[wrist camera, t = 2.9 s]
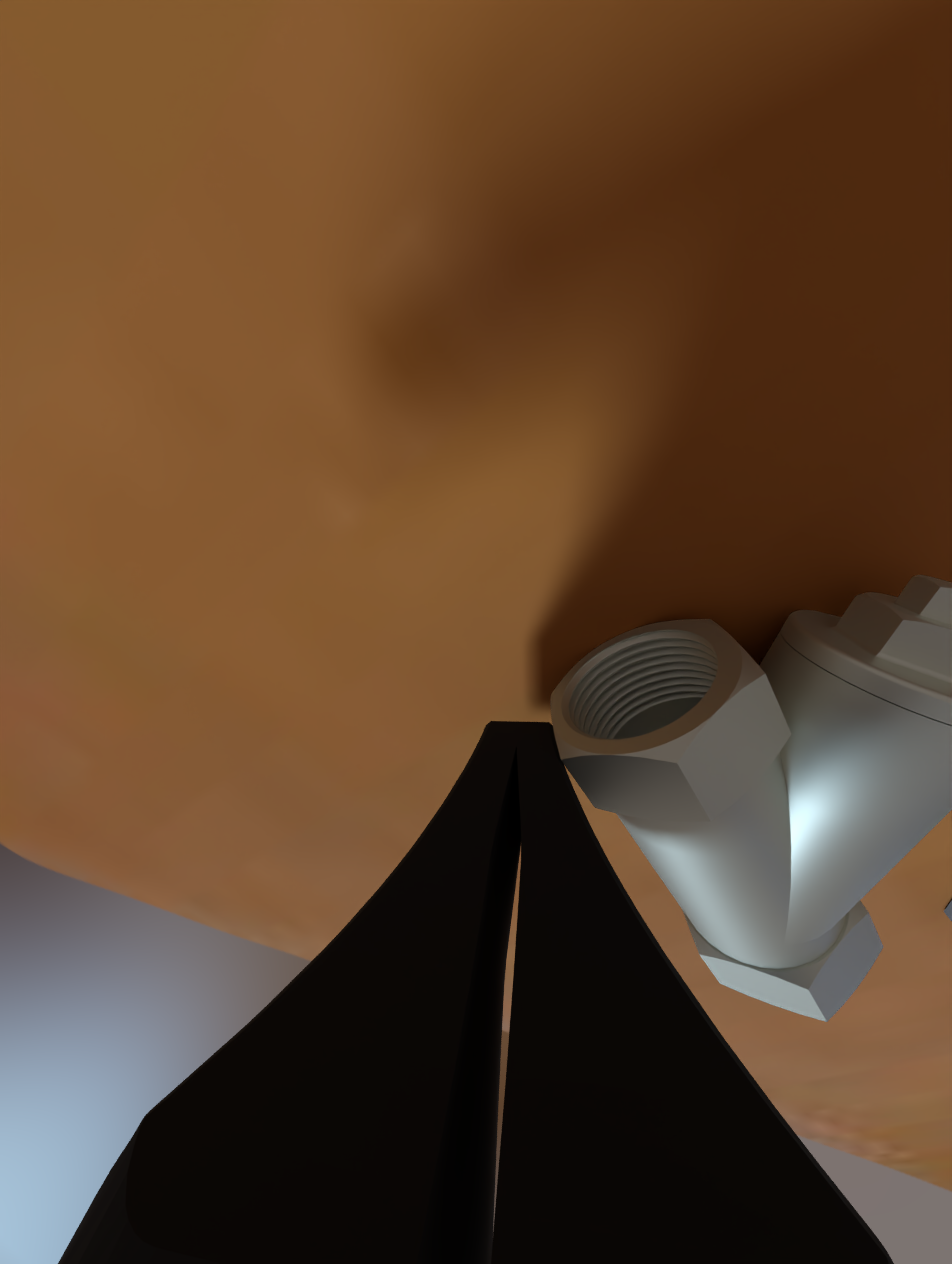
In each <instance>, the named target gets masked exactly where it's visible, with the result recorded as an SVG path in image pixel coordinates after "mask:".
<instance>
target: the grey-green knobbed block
mask: <svg viewBox="0 0 952 1264" xmlns="http://www.w3.org/2000/svg"><path fill="white" fill-rule="evenodd" d="M944 912H945V914H946V915H947V916H948V917H949V919H950V920H951V921H952V901H951V902H950V903H949V905H948V906H947V908H946V909H945V910H944Z"/></svg>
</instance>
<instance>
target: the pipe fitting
mask: <svg viewBox="0 0 952 1264" xmlns="http://www.w3.org/2000/svg"><path fill="white" fill-rule="evenodd" d="M550 707H551V718H552V724H553V729H554V734H555V739H556V743H557V747H558V751H559V755H560V759H561V761H562V762H563V763H564V765H565V766H566V768H567V769H568V771H569V772H570V773H571V775H572V776H573V778H574V779H575V780H576V782H577V783H578V785H579V786H580V787H581V789H582V790H583V792H584V793H585V794H586V796H587V797H588V799H589V800H590V801H591V803H592V804H593V806H594V807H595V808H598V809H602V810H606V811H610V812H614V813H616V814H617V815H618V817H619V818H620V820H621V821H622V823H623V824H624V826H625V827H626V828H627V830H628V831H629V833H630V834H631V836H632V837H633V839H634V840H635V842H636V843H637V845H638V846H639V847H640V849H641V850H642V852H643V853H644V855H645V856H646V858H647V859H648V861H649V862H650V863H651V865H652V866H653V868H654V869H655V871H656V872H657V874H658V875H659V876H660V878H661V879H662V881H663V882H664V884H665V885H666V886H667V888H668V889H669V891H670V892H671V894H672V895H673V897H674V898H675V899H676V901H677V902H678V904H679V905H680V907H681V908H682V910H683V913H684V916H685V918H686V921H687V924H688V926H689V929H690V932H691V934H692V937H693V939H694V942H695V944H696V947H697V949H698V952H699V954H700V956H701V957H702V959H703V960H704V962H705V963H706V964H707V966H708V967H709V969H710V970H711V971H712V973H713V974H714V976H715V977H716V978H717V980H718V981H719V983H720V984H722V985H725V986H727V987H729V988H732V989H734V990H736V991H739V992H741V993H743V994H746V995H748V996H751V997H753V998H756V999H758V1000H761V1001H764V1002H766V1003H769V1004H771V1005H774V1006H777V1007H780V1008H783V1009H786V1010H789V1011H792V1012H795V1013H798V1014H801V1015H805V1016H808V1017H812V1018H815V1019H819V1020H822V1021H826V1022H827V1021H828V1020H829V1019H830V1018H831V1017H832V1016H833V1015H834V1014H835V1013H836V1012H837V1011H838V1010H839V1009H840V1008H841V1007H842V1006H843V1005H844V1003H845V1002H846V1001H847V1000H848V998H849V997H850V996H851V995H852V993H853V992H854V991H855V990H856V989H857V987H858V986H859V984H860V983H861V982H862V980H863V979H864V977H865V976H866V974H867V973H868V971H869V970H870V969H871V967H872V965H873V964H874V962H875V960H876V958H877V957H878V955H879V953H880V952H881V950H882V948H883V945H882V943H881V940H880V938H879V936H878V933H877V931H876V929H875V926H874V924H873V922H872V919H871V917H870V915H869V912H868V911H867V910H866V908H865V907H864V905H863V904H862V902H861V901H860V900H861V899H862V898H863V897H864V896H865V895H866V894H867V893H868V892H869V891H870V890H871V889H872V888H873V887H874V886H875V885H876V884H877V883H878V882H879V881H880V880H881V879H882V878H883V877H884V876H885V875H886V874H887V873H888V872H889V871H890V870H891V869H892V868H893V867H894V866H895V865H896V864H897V863H898V862H899V861H900V860H901V859H902V858H903V857H904V856H905V855H906V854H907V853H908V852H909V851H910V850H911V849H912V848H913V847H914V846H915V845H916V844H917V843H918V842H919V841H920V840H921V839H922V838H923V837H924V836H925V835H926V834H927V833H928V832H929V831H930V830H932V829H933V828H934V827H935V826H936V825H937V824H938V823H939V822H940V821H941V820H942V819H943V818H944V817H945V816H946V815H947V814H948V813H949V812H950V811H951V810H952V582H948V581H945V580H941V579H938V578H934V577H930V576H925V575H915V576H913V577H912V578H911V579H910V581H909V582H908V584H907V585H906V586H905V588H904V589H903V591H902V592H901V593H900V595H899V596H898V597H895V596H891V595H886V594H882V593H875V592H867V593H863V594H859V595H857V596H855V598H854V599H853V601H852V602H851V604H850V605H849V607H848V608H847V610H846V611H845V613H844V614H843V616H842V617H839V616H834V615H830V614H826V613H822V612H818V611H814V610H798V611H795V612H792V613H791V614H790V615H789V616H788V618H787V620H786V621H785V623H784V625H783V627H782V628H781V630H780V632H779V634H778V635H777V637H776V639H775V640H774V642H773V644H772V645H771V647H770V649H769V650H768V652H767V654H766V655H765V657H764V659H763V660H762V662H761V664H760V665H758V664H757V663H756V662H755V661H754V660H753V659H752V657H751V656H750V655H749V654H748V653H747V652H746V651H745V650H744V649H743V648H742V646H741V645H740V644H739V643H738V642H737V641H736V640H735V639H734V638H733V637H732V636H731V635H730V634H729V633H727V632H726V631H725V630H724V629H723V628H722V627H721V626H720V625H718V624H717V623H715V622H714V621H712V620H711V619H683V620H673V621H664V622H658V623H653V624H649V625H645V626H642V627H639V628H635V629H632V630H630V631H627V632H625V633H623V634H620V635H618V636H616V637H614V638H612V639H610V640H608V641H606V642H605V643H603V644H601V645H600V646H598V647H597V648H595V649H594V650H592V651H591V652H590V653H588V654H587V655H586V656H585V657H583V658H582V659H581V660H580V661H579V662H578V663H577V664H576V665H575V666H574V667H573V668H572V669H571V670H570V671H569V672H568V673H567V674H566V675H565V676H564V678H563V679H562V680H561V681H560V683H559V684H558V685H557V687H556V688H555V689H554V691H553V692H552V694H551V700H550Z"/></svg>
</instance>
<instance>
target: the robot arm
mask: <svg viewBox="0 0 952 1264" xmlns="http://www.w3.org/2000/svg"><path fill="white" fill-rule="evenodd" d="M520 846H521V870H520V886H519V903H518V918H517V933H516V948H515V963H514V978H513V991H512V1005H511V1018H510V1032H509V1045H508V1060H507V1072H506V1085H505V1097H504V1109H503V1122H502V1123H503V1124H502V1134H501V1146H500V1159H499V1172H498V1184H497V1197H496V1208H495V1220H494V1232H493V1217H494V1193H495V1169H496V1145H497V1122H498V1101H499V1079H500V1078H499V1077H500V1056H501V1035H502V1016H503V996H504V980H505V969H506V958H507V949H508V941H509V933H510V926H511V918H512V910H513V902H514V894H515V886H516V878H517V870H518V863H519V855H520ZM58 1264H894V1263H893V1261H892V1259H891V1258H890V1256H889V1254H888V1252H887V1251H886V1249H885V1248H884V1246H883V1245H882V1244H881V1242H880V1241H879V1239H878V1238H877V1237H876V1235H875V1234H874V1233H873V1232H872V1230H871V1229H870V1228H869V1226H868V1225H867V1224H866V1223H865V1221H864V1220H863V1219H862V1218H861V1216H860V1215H859V1214H858V1213H857V1211H856V1210H855V1209H854V1207H853V1206H852V1205H851V1204H850V1202H849V1201H848V1200H847V1199H846V1197H845V1196H844V1195H843V1194H842V1192H841V1191H840V1190H839V1189H838V1187H837V1186H836V1185H835V1184H834V1182H833V1181H832V1180H831V1179H830V1177H829V1176H828V1175H827V1173H826V1172H825V1171H824V1170H823V1169H822V1167H821V1166H820V1165H819V1163H818V1162H817V1161H816V1160H815V1158H814V1157H813V1156H812V1154H811V1153H810V1152H809V1151H808V1149H807V1148H806V1147H805V1145H804V1144H803V1143H802V1142H801V1140H800V1139H799V1138H798V1136H797V1135H796V1134H795V1132H794V1131H793V1130H792V1128H791V1127H790V1126H789V1125H788V1123H787V1122H786V1121H785V1119H784V1118H783V1117H782V1116H781V1114H780V1113H779V1112H778V1110H777V1109H776V1108H775V1106H774V1105H773V1104H772V1103H771V1101H770V1100H769V1099H768V1097H767V1096H766V1094H765V1093H764V1092H763V1090H762V1089H761V1088H760V1086H759V1085H758V1084H757V1082H756V1081H755V1080H754V1078H753V1077H752V1076H751V1074H750V1073H749V1072H748V1070H747V1069H746V1068H745V1066H744V1065H743V1063H742V1062H741V1061H740V1059H739V1058H738V1057H737V1055H736V1054H735V1053H734V1051H733V1050H732V1049H731V1047H730V1046H729V1045H728V1043H727V1042H726V1041H725V1039H724V1038H723V1037H722V1035H721V1034H720V1032H719V1031H718V1029H717V1028H716V1026H715V1025H714V1024H713V1022H712V1021H711V1019H710V1018H709V1016H708V1015H707V1014H706V1012H705V1011H704V1009H703V1008H702V1006H701V1005H700V1003H699V1002H698V1001H697V999H696V998H695V996H694V995H693V993H692V992H691V990H690V989H689V988H688V986H687V985H686V983H685V982H684V980H683V979H682V977H681V976H680V975H679V973H678V972H677V970H676V969H675V967H674V966H673V965H672V963H671V962H670V960H669V959H668V957H667V956H666V954H665V953H664V951H663V950H662V948H661V947H660V945H659V943H658V942H657V940H656V939H655V937H654V936H653V934H652V932H651V931H650V929H649V928H648V926H647V925H646V923H645V921H644V920H643V918H642V917H641V915H640V914H639V912H638V910H637V909H636V907H635V905H634V904H633V902H632V900H631V899H630V897H629V895H628V894H627V892H626V890H625V889H624V887H623V885H622V883H621V882H620V880H619V878H618V876H617V875H616V873H615V871H614V869H613V868H612V866H611V864H610V862H609V860H608V859H607V857H606V855H605V853H604V851H603V849H602V847H601V845H600V843H599V841H598V839H597V838H596V836H595V834H594V832H593V830H592V828H591V826H590V824H589V822H588V820H587V817H586V815H585V813H584V811H583V809H582V807H581V804H580V802H579V800H578V798H577V795H576V793H575V791H574V789H573V786H572V784H571V781H570V779H569V777H568V774H567V771H566V769H565V766H564V763H563V762H562V761H561V759H560V755H559V751H558V747H557V743H556V739H555V734H554V729H553V726H552V725H551V724H550V723H549V722H507V721H491V722H489V723H488V724H487V725H486V727H485V729H484V731H483V734H482V736H481V738H480V740H479V742H478V744H477V746H476V748H475V750H474V752H473V754H472V756H471V757H470V759H469V761H468V763H467V765H466V766H465V768H464V770H463V772H462V773H461V775H460V777H459V778H458V780H457V781H456V783H455V785H454V786H453V788H452V790H451V791H450V793H449V794H448V796H447V798H446V799H445V801H444V802H443V804H442V805H441V807H440V808H439V810H438V811H437V813H436V814H435V815H434V817H433V818H432V820H431V821H430V823H429V824H428V825H427V827H426V828H425V830H424V831H423V833H422V834H421V836H420V837H419V838H418V840H417V841H416V842H415V844H414V845H413V846H412V848H411V849H410V850H409V852H408V853H407V854H406V856H405V857H404V858H403V859H402V861H401V862H400V863H399V864H398V866H397V867H396V868H395V869H394V871H393V872H392V873H391V874H390V876H389V877H388V878H387V879H386V880H385V882H384V883H383V884H382V885H381V886H380V888H379V889H378V890H377V891H376V892H375V893H374V895H373V896H372V897H371V898H370V899H369V900H368V901H367V903H366V904H365V905H364V906H363V907H362V908H361V909H360V910H359V912H358V913H357V914H356V915H355V916H354V917H353V918H352V919H351V921H350V922H349V923H348V924H347V925H346V926H345V927H344V928H343V929H342V930H341V932H340V933H339V934H338V935H337V936H336V937H335V938H334V939H333V940H332V941H331V942H330V943H329V944H328V945H327V946H326V947H325V948H324V950H323V951H322V952H321V953H320V954H319V955H318V956H316V957H315V958H314V959H313V960H312V961H311V962H310V964H308V965H307V966H306V967H305V968H304V969H303V971H301V972H300V973H299V974H298V975H297V976H296V977H295V978H294V979H293V980H292V982H290V983H289V984H288V985H287V986H286V987H285V988H284V989H283V990H282V991H281V992H280V993H279V994H278V995H277V996H276V997H275V998H274V999H273V1000H272V1001H271V1002H270V1003H269V1004H268V1005H267V1006H266V1007H265V1008H264V1009H263V1010H262V1011H261V1012H260V1013H259V1014H257V1015H256V1017H254V1018H253V1019H252V1020H251V1021H250V1022H249V1023H248V1024H247V1025H246V1026H245V1027H244V1028H242V1029H241V1030H240V1031H239V1032H238V1033H237V1034H236V1035H235V1036H233V1038H231V1039H230V1040H229V1041H228V1042H227V1043H226V1044H225V1045H223V1046H222V1047H221V1048H220V1049H219V1050H218V1051H217V1052H215V1053H214V1054H213V1055H212V1056H211V1057H210V1058H209V1059H208V1060H207V1061H205V1062H204V1063H203V1064H202V1065H201V1066H200V1067H199V1068H198V1069H196V1070H195V1071H194V1072H193V1073H192V1074H191V1075H190V1076H189V1077H188V1078H186V1079H185V1080H184V1081H183V1082H182V1083H181V1084H180V1085H178V1086H177V1087H176V1088H175V1089H174V1090H173V1091H172V1092H171V1093H170V1094H168V1095H167V1096H166V1097H165V1098H164V1099H163V1100H161V1101H160V1102H159V1103H158V1104H157V1105H156V1106H155V1107H154V1108H153V1109H152V1110H150V1111H149V1112H148V1114H146V1116H145V1117H144V1118H143V1120H142V1121H141V1123H140V1125H139V1127H138V1128H137V1130H136V1132H135V1133H134V1135H133V1137H132V1138H131V1140H130V1141H129V1143H128V1144H127V1146H126V1148H125V1149H124V1150H123V1152H122V1153H121V1155H120V1156H119V1158H118V1159H117V1161H116V1163H115V1164H114V1166H113V1167H112V1169H111V1170H110V1172H109V1174H108V1176H107V1177H106V1179H105V1181H104V1183H103V1184H102V1186H101V1188H100V1189H99V1191H98V1193H97V1194H96V1196H95V1198H94V1200H93V1202H92V1204H91V1205H90V1207H89V1209H88V1211H87V1213H86V1214H85V1216H84V1218H83V1220H82V1222H81V1223H80V1225H79V1227H78V1229H77V1230H76V1232H75V1234H74V1236H73V1238H72V1239H71V1241H70V1243H69V1245H68V1247H67V1249H66V1250H65V1252H64V1254H63V1256H62V1257H61V1259H60V1261H59V1263H58Z"/></svg>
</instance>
